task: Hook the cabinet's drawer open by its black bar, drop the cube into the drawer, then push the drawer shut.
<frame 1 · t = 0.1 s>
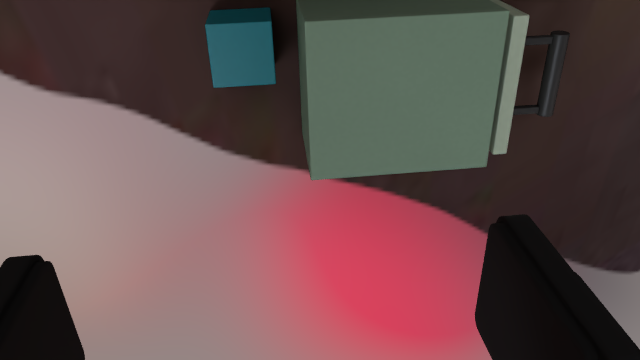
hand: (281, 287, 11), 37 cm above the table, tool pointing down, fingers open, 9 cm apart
cabinet: (379, 64, 47), on the table
cube: (243, 38, 45), on the table
drawer: (449, 77, 44), point 5 cm above the table, slide at 0.8 cm
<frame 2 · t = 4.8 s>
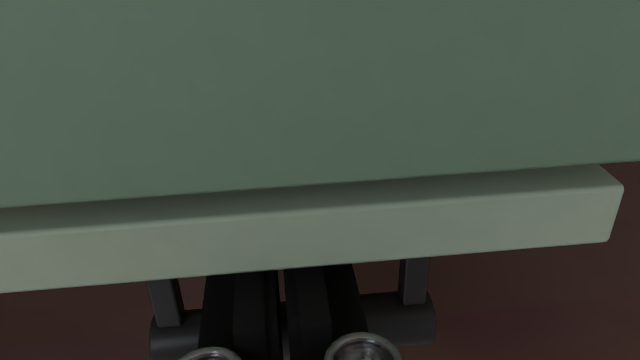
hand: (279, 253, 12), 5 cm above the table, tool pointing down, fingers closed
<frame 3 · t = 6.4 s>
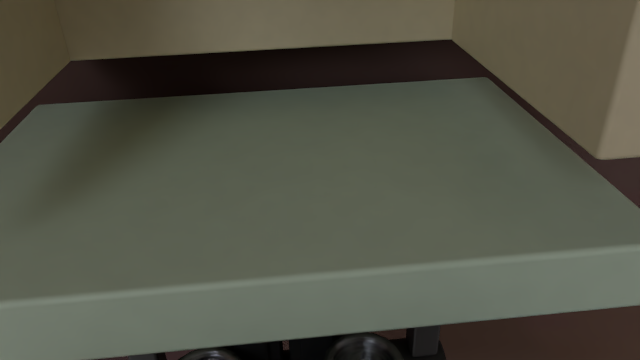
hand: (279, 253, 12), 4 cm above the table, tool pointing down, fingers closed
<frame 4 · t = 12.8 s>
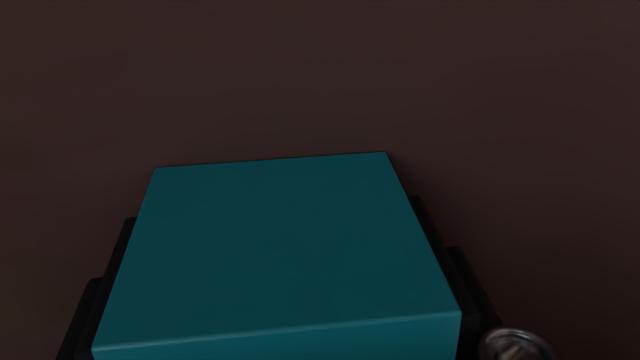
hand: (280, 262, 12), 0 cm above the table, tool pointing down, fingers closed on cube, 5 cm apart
cube: (279, 250, 13), on the table, touching gripper
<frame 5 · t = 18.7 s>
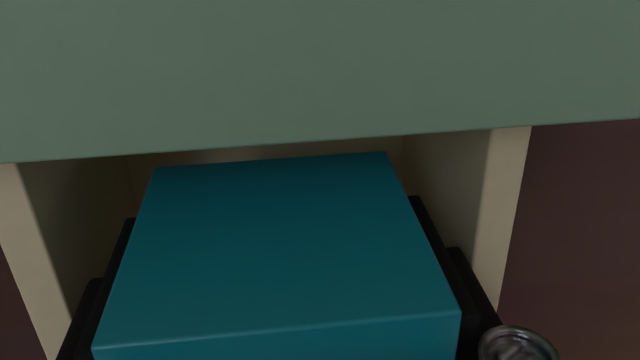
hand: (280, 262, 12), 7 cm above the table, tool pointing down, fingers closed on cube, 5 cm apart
cube: (279, 250, 13), point 6 cm above the table, touching gripper
drawer: (271, 204, 14), point 5 cm above the table, slide at 7.0 cm
when the fingers open (10 cm above the table, at t = 34.7 s): cube drops 7 cm, resting on drawer.
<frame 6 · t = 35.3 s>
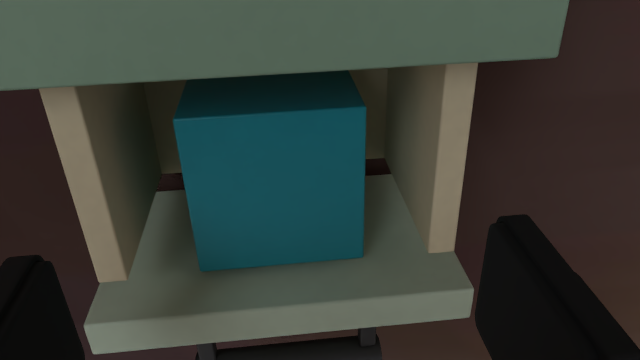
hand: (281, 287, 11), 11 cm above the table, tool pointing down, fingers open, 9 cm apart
cube: (272, 124, 19), point 2 cm above the table, touching drawer
drawer: (273, 154, 17), point 5 cm above the table, slide at 7.2 cm, touching cube
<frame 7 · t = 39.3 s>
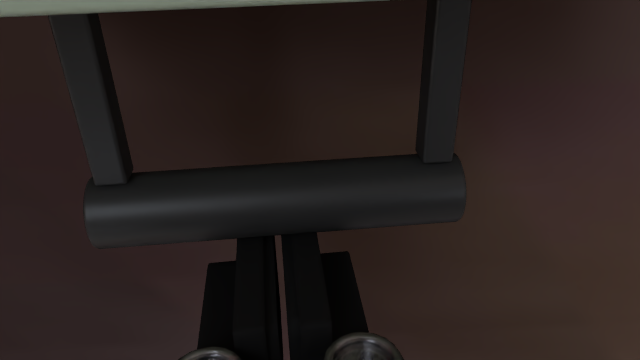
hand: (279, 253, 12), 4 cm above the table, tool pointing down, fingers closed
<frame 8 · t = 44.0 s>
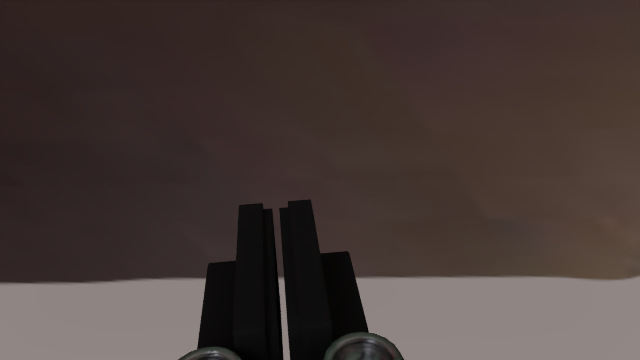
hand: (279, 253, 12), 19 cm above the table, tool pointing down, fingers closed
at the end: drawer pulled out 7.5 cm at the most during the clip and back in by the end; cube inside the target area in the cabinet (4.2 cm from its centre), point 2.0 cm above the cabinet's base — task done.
